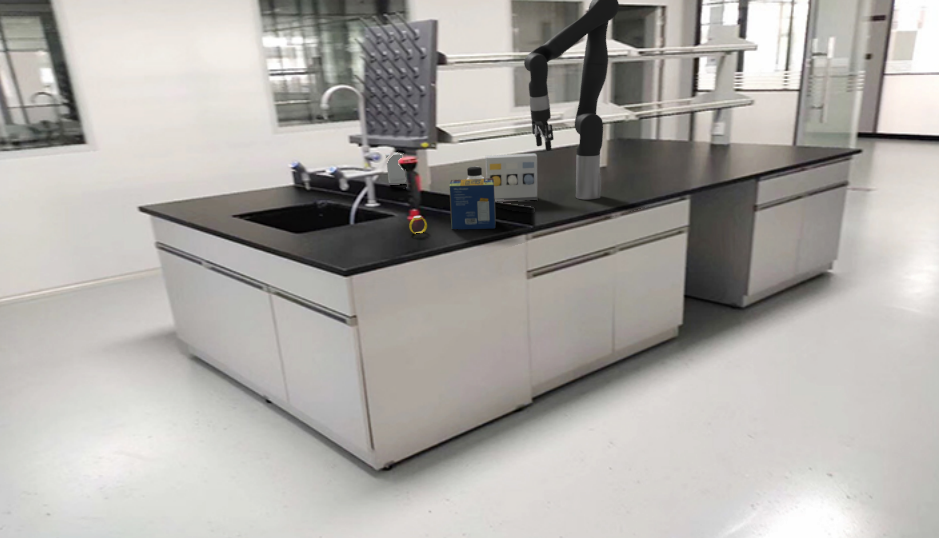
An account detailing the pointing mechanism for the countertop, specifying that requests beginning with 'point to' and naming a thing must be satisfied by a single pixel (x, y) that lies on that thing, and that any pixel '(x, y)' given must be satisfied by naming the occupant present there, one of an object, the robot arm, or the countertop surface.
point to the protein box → (472, 203)
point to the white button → (512, 180)
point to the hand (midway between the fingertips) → (544, 148)
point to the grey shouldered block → (395, 169)
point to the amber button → (496, 180)
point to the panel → (517, 167)
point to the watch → (417, 219)
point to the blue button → (528, 179)
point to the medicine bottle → (474, 173)
